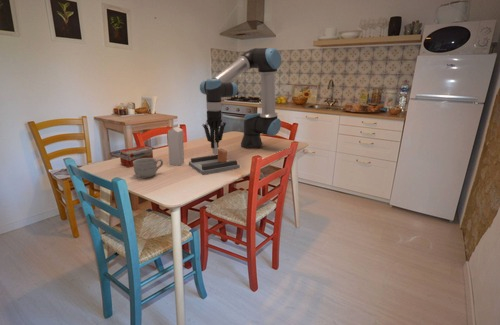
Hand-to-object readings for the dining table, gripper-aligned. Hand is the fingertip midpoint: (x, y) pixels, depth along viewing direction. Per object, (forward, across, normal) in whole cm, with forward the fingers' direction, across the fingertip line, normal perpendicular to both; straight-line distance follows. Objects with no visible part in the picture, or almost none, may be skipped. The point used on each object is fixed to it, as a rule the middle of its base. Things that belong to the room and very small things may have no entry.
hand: (214, 153), depth 154 cm
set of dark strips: (+5, +1, 0) cm, 5 cm away
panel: (+7, +1, 0) cm, 7 cm away
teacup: (+7, +35, -3) cm, 36 cm away
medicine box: (+7, +35, -25) cm, 44 cm away
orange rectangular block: (+5, -4, 0) cm, 7 cm away
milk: (+7, +17, -14) cm, 23 cm away
